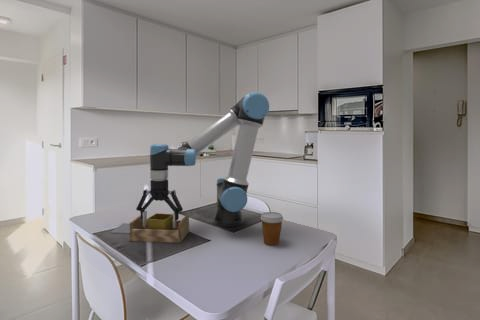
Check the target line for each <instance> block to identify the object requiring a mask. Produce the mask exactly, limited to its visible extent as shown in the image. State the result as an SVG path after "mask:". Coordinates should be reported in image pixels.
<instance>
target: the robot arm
mask: <svg viewBox="0 0 480 320" xmlns="http://www.w3.org/2000/svg"><path fill="white" fill-rule="evenodd" d="M269 110H270V102H269V100H268V98H267V97H266V95H264V94H262V93H261V92H258V91H256V92H255V91H254V92H249V93H247V94H246V95H244V96H243V97H242V98H241V99H240V100H239V101H237V103H236V104H234V105H233V106H232V107H231V108H229V110H228V112H227V113H226V114H224V115H223V116H222V117H220V118H219V119H218V120H216V121H215V122H213V123H212V124H210V126H208V127H207V128H205V129H203V130H201V132H199V133H198V134H197V135H195V136H194V137H192V138H191V139H190V140H188V141H187V142H186V143H184V144H183V145H181V146H179V147H178V148H169V145H168V144H167V143H153V144H151V146H150V152H149V164H150V165H149V166H150V172H149V173H150V175H149V177H150V182H149V183H150V189H147V188H146V189H144V190H143V193H142V196H141V198H140V201H139V202H138V205H137V206H136V208H135V210H136V211H139V212H140V215H141V219H143V227H145V226H146V225H147V219H148V216H147V215H148V214H147V213H148V212H147V208H148V207H149V206H150V205H151V203H152V202H153V201H157V202H158V201H160V202H162V201H164V202H165V203H166V204H167V205H168V206H169V207H170V209H171V210H172V211H173V213H172V214H173V228H175V227H176V220H178V221H179V216H180V215H179V213H181V212H182V211H183V210H184V209H183V206H182V205H181V201H180V200H179V198H178V195H177V192H176V190H175V189H173V190H169V180H168V179H169V166H170V167H184V166H185V167H192V166H195V165H196V159H197V156H196V155H198V154H199V153H201V152H202V151H204V150H205V149H207V147H209V146H210V145H212V144H213V143H215V142H216V141H218V140H219V139H220V138H222V137H223V136H225V135H226V134H227V133H228V132H230V131H232V130H233V129H234V128H236V127H237V126H238V131H237V136H236V140H235V144H234V148H233V153H232V157H231V162H230V166H229V171H228V175H226V176H225V177H224V178H223V177H222V178H221V177H220V178H217V180H216V210H215V213H214V216H213V224H214V225H215V226H217V227H222V228H236V227H238V226H239V227H240V226H241V225H243V224H244V217H243V213H242V210H243V209H244V208H245V207H246V206H247V203H248V194H247V193H248V188H249V182H248V180H247V178H248V175H249V170H250V165H251V162H252V158H253V153H254V149H255V143H256V141H257V135H258V132H259V129H260V128H261V127H263V124H264V121H265V117H266V116H267V114H268V113H269ZM148 195H150V196H151V197H150V198H149V199H148V201H147V202H146V203H145V201H146V199H147V197H148ZM169 195H170V197H171V198H172V200H173V201H172V200H171V199H170V197H169ZM144 203H145V204H144Z"/></svg>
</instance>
